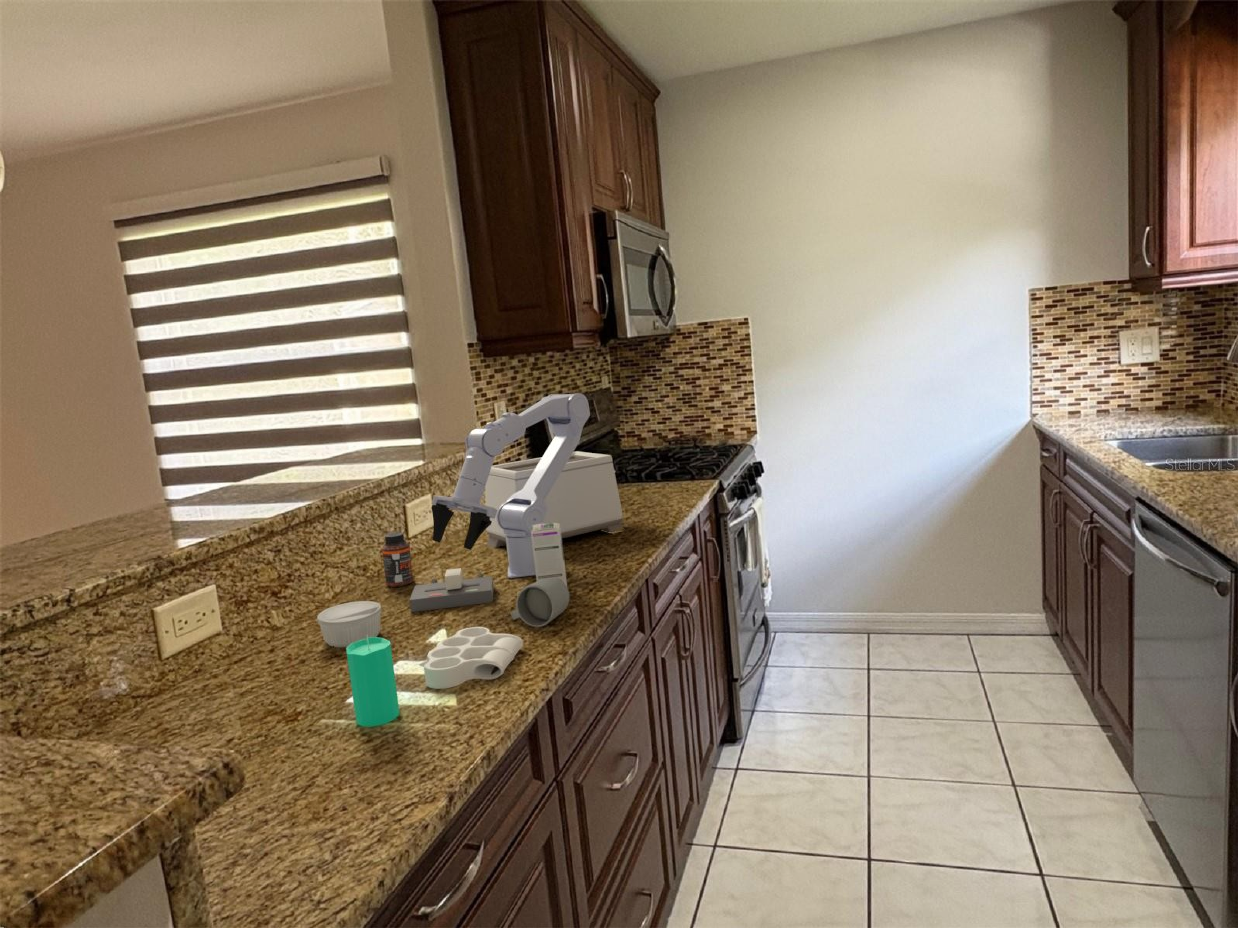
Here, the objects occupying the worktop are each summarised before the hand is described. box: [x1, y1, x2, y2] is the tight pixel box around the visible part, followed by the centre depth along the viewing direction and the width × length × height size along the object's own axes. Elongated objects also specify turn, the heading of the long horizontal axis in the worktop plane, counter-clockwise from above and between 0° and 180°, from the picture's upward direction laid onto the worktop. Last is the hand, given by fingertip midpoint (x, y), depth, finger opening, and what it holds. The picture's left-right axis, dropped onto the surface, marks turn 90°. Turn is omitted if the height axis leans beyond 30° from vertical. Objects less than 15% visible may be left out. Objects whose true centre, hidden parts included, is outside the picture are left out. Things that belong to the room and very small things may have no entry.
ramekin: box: [316, 600, 383, 648], centre depth 144 cm, size 11×11×5 cm
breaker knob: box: [444, 568, 464, 590], centre depth 161 cm, size 3×5×3 cm, turn 8°
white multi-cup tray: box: [418, 626, 524, 690], centre depth 127 cm, size 3×18×15 cm
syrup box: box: [531, 522, 568, 587], centre depth 157 cm, size 6×6×14 cm
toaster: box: [484, 451, 625, 549], centre depth 207 cm, size 19×34×21 cm, turn 125°
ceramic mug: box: [509, 577, 571, 628], centre depth 145 cm, size 11×8×8 cm
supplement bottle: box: [381, 532, 414, 588], centre depth 176 cm, size 6×6×11 cm
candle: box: [345, 635, 401, 728], centre depth 110 cm, size 6×6×12 cm
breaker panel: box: [409, 573, 495, 613], centre depth 166 cm, size 16×19×3 cm
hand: (451, 545), depth 162 cm, fingers open, 7 cm apart
